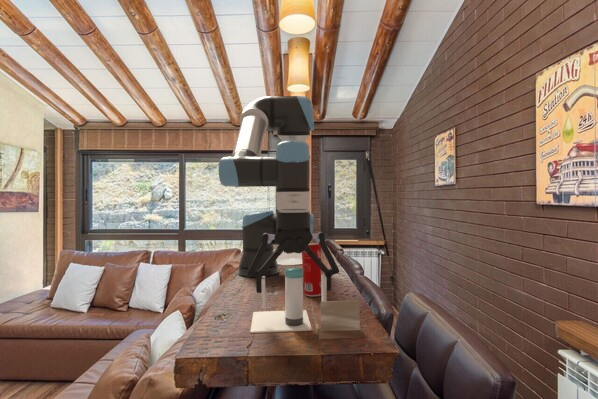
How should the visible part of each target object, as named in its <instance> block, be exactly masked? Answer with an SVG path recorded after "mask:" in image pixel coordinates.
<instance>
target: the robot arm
mask: <svg viewBox="0 0 598 399" xmlns="http://www.w3.org/2000/svg"><path fill="white" fill-rule="evenodd" d="M238 124H239V126H240V127H239V131H238V135H237V136H236V137H237V138H236V141H235V143H234V147H233V150H232V155H231V156H230V155H228V156H223V157H221V158H220V159H219V162H218V179H219V182H220V184H221V185H222V186H223V187H234V188H247V187H250V188H251V187H253V188H254V187H276V192H275V193H276V194H275V198H276V199H275V202H276V203H275V204H276V205H275V206H276V207H275V208H276V210H277V211H278V212H277V213H275V212H274V210H273V209H271V210H264V211H256V212H250V213H246V214H244V215H243V217H242V225H241V228H242V255H241V257H240V261H239V264H238V268H237V270H238V271H237V272H238V273H237V274H238V275H240V276H242V277H248V278H255V280H256V281H255V285H256V286H255V288H256V289H255V290H256V292H257V294H258V293H259V294H261V310H266V277H271V276H275V275H277V274H278V273H279V264H278V261H277V260H278V258H279V257H280V256H281V255H282V253H283V252H284V253H285V254H290V255H291V254H294V253H295V254H302V252H303V251H304V250H305V252H306V253H307V254H308V255H309V256H310V257H311V258H312V260H313V261H314V262H315V263H316V264H317V265H318V266H319V268H320V269H321V270H322V271H323V275H321V295H320V296H321V298H320V299H321V301H328V300H327V299H328V298H327V296H328V291H331V290H332V278H333V277H332V276H334V275H338V274H339V273H340V268H339V267H338V265H337V262H336V261H335V259H334V257H333V255H332V253H331V251H330V249H329V247H328V245H327V243H326V238H325V234H324V232H322V231H318V232H317V233H316V232H315V233H313V232H314V231H313V230H314V221H315V220H314V216H315V215H314V214H313V213H311V212H310V209H311V200H310V199H311V197H310V196H311V195H310V194H311V193H310V191H311V190H310V189H311V188H310V180H311V178H310V175H311V174H310V168H311V167H310V163H311V162H310V159H311V155H310V145H309V144H308V143H307V140H308V138H310V136H311V132H312V131H314V130H315V119H314V112H313V104H312V101H311V99H310V98H309V97H307V96H305V95H304V96H301V95H288V96H287V95H284V96H283V95H277V96H273V95H269V96H262V97H259V98H257V99H255V100H253V101H252V102H250V103H248V105H247V106H245V107H244V109H243V110H242V111H241V114H240V117H239V122H238ZM266 131H277V137H278V138H279V139H280V142H277V144H276V149H275V156H261V155H262V150H263V142H264V136H265V132H266ZM313 240H314V241H315V243H319V244H320V247H321V252H322V253H323V255H324V256H325V259H326V260H327V263H328V264H329V266H330V267H329V268H328V267H327V266H326V265H325V264H324V263H323V260H322V261H321V260H320V259H319V258H318V257H317V256H316V255H315V253H314V252H313V251H312V250H311V249H310V248H309V246H308V245H309V243H312V241H313ZM277 245H278V246H277ZM274 246H277V247H276V249H274Z"/></svg>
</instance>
